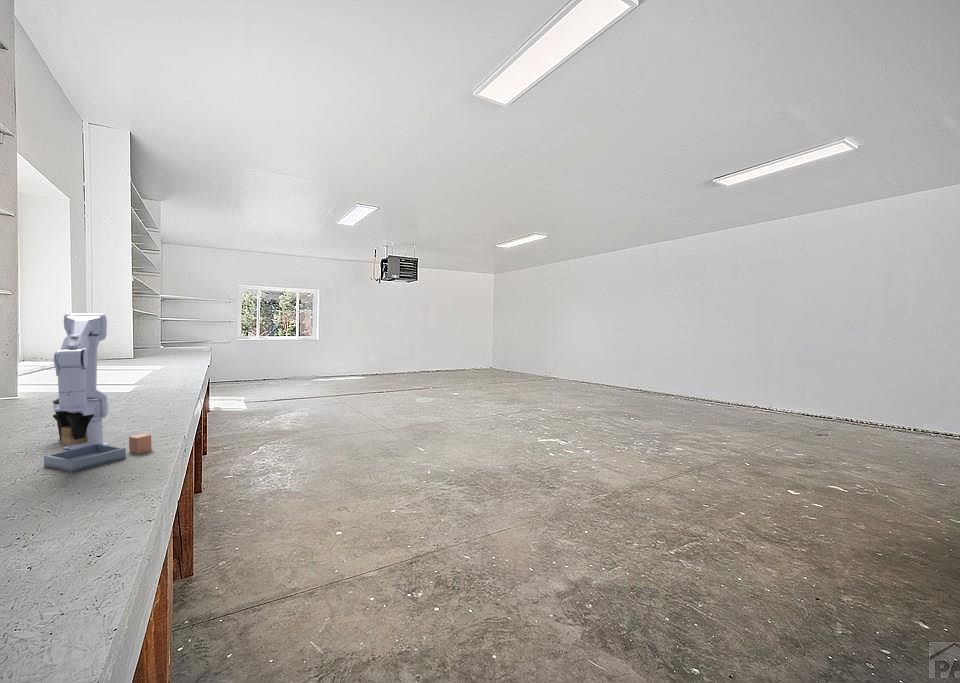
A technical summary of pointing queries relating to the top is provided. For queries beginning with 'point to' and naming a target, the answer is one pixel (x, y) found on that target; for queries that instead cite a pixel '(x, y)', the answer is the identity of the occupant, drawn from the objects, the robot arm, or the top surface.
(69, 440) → the tan block
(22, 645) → the top surface
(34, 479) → the top surface
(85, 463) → the tray
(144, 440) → the terracotta block
